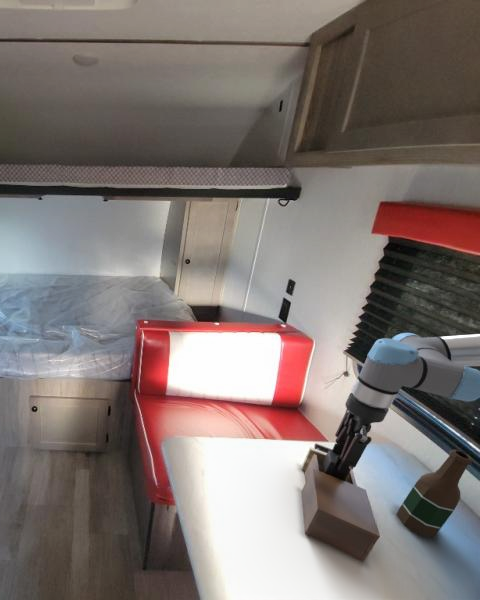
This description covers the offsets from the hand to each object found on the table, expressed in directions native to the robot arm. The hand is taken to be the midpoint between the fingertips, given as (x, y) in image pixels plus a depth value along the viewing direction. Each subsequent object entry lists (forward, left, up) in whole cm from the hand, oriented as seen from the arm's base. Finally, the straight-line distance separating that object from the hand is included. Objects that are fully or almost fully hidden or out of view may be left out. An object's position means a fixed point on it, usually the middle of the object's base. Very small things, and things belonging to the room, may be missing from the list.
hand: (334, 471), depth 89 cm
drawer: (0, -2, -7) cm, 7 cm away
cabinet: (0, +11, -8) cm, 14 cm away
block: (0, 0, 0) cm, 0 cm away
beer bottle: (-20, -2, -8) cm, 22 cm away
